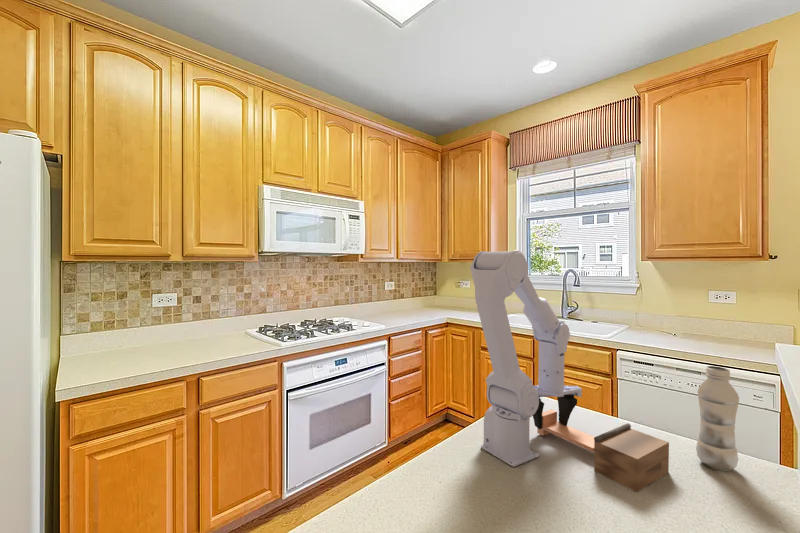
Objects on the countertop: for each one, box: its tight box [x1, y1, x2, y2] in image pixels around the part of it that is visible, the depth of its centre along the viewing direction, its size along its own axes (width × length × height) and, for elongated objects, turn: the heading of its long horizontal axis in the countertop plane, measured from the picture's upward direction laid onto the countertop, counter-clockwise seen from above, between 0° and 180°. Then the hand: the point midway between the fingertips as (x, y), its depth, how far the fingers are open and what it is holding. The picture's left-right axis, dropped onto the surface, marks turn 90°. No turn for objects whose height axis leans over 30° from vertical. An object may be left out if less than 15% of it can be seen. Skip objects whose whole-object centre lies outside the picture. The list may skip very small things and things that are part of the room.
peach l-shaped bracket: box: [536, 408, 595, 453], centre depth 85 cm, size 14×5×5 cm, turn 32°
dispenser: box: [593, 422, 670, 493], centre depth 73 cm, size 8×12×7 cm
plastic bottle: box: [695, 365, 740, 472], centre depth 75 cm, size 6×7×20 cm
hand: (550, 426), depth 89 cm, fingers closed on peach l-shaped bracket, 6 cm apart
